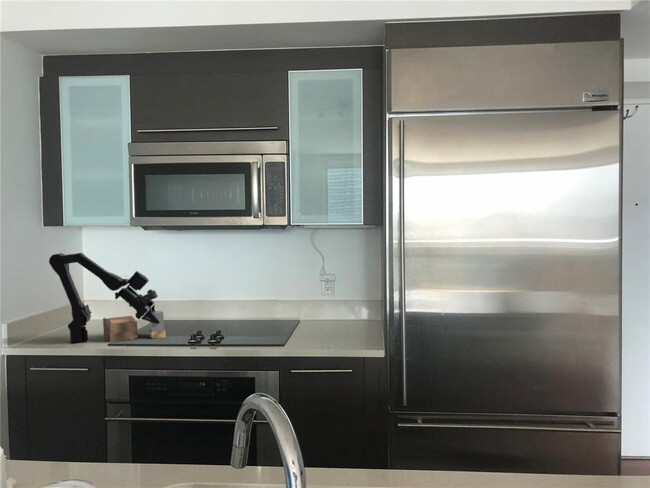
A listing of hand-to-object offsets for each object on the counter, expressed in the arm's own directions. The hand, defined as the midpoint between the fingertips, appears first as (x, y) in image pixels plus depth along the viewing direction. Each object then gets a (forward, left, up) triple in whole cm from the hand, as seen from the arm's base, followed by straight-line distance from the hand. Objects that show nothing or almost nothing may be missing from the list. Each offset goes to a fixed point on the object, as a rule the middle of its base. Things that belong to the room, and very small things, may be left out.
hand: (159, 321), depth 253 cm
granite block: (-1, 0, -4) cm, 4 cm away
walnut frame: (-15, +8, -7) cm, 19 cm away
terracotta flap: (-15, +8, +1) cm, 17 cm away
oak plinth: (-1, 0, -7) cm, 7 cm away
